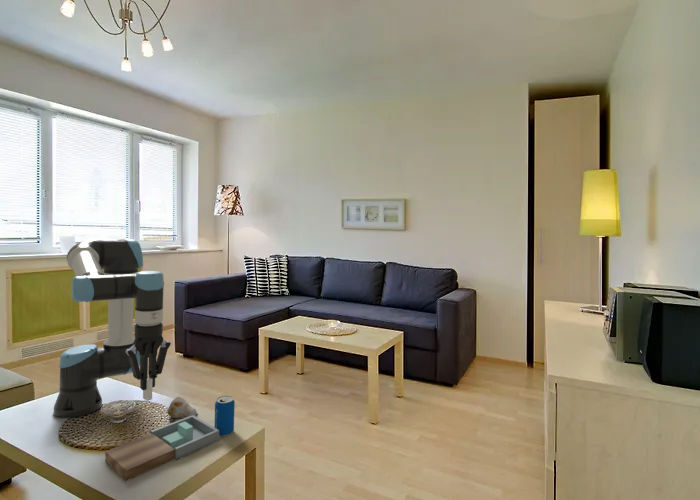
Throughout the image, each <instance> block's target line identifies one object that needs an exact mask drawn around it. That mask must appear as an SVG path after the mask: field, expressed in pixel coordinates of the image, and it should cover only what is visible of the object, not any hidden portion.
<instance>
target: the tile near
mask: <svg viewBox="0 0 700 500" xmlns="http://www.w3.org/2000/svg"><path fill="white" fill-rule="evenodd" d="M163 441H164V442H165V443H166V444H168V445H169V446H171V447H172V448H173V449H175V448H176V447H178V446H180V445H183V444H185V443H186V437H185V436H184V435H182V434H181V433H179V432H178V431H177V432H175V433H172V434H170V435H167V436H165V437H163Z"/></svg>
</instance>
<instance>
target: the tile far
mask: <svg viewBox="0 0 700 500" xmlns="http://www.w3.org/2000/svg"><path fill="white" fill-rule="evenodd" d="M178 432H179V433H181V434H182V435H184V436H185V437H186V443H187V442H189V441H192V440H193V426H192V425H190V424H188V423H187V422H182V423H180V424H178Z"/></svg>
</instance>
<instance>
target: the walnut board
mask: <svg viewBox="0 0 700 500" xmlns="http://www.w3.org/2000/svg"><path fill="white" fill-rule="evenodd" d="M104 452H105V453H104V454H105V458H104V459H105V460H104V461H105V463H107V464H108V465H109V466H110V467H111V468H112V469H113V470H114V471H115V472H116V473H117V474H118V475H120V476H121V478H123V479H124V480H125V481H126V482H128V481H129V480H131V479H133V478H135V477H138V476H140V475H142V474H145V473H147V472H150V471H151V470H153V469H155V468H158V467H160V466H162V465H164V464H167V463H169V462H171V461H173V460H175V449H173V448H172V447H171V446H169V445H168V444H166V443H165V442H164V441H162V440H161V439H160V438H158V437H157V436H155V435H154V434H153V433H152V434H151V433H150V434H148V435H144V436H142V437H140V438H136V439H134V440H132V441H129V442H127V443H124V444H121V445H118V446H116V447H114V448H110V449H109V450H105V451H104Z"/></svg>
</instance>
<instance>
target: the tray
mask: <svg viewBox="0 0 700 500" xmlns="http://www.w3.org/2000/svg"><path fill="white" fill-rule="evenodd" d="M182 422H187V423H188V424H190V425H192V426H193V440H192V441H189V442H187V443H185V444H183V445H180V446H178V447H176V448H175V459H174V460H176V461H177V460H180V459H182V458H184V457H186V456H189V455H191V454H193V453H195V452H198V451H199V450H201V449H204V448H206V447H208V446H210V445H213V444H215V443H217V442H219V441H220V436H219V430H218V429H216V428H215V427H214V426H213V425H211V424H209V423H207V421H204V420H203V419H201V418H199V417H197V415H195V416H194V415H192V416H189V417H186V418H181V419H179V420H176V421H173V422H170V423H168V424H166V425H163V426H161V427H158V428H155V429H151V431H150V434H152V433H153V434H154V435H155V436H157V437H158V438H160V439H161V440H162V441H163V437H165V436H167V435H170V434H172V433H175V432H177V431H178V424H180V423H182Z"/></svg>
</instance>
